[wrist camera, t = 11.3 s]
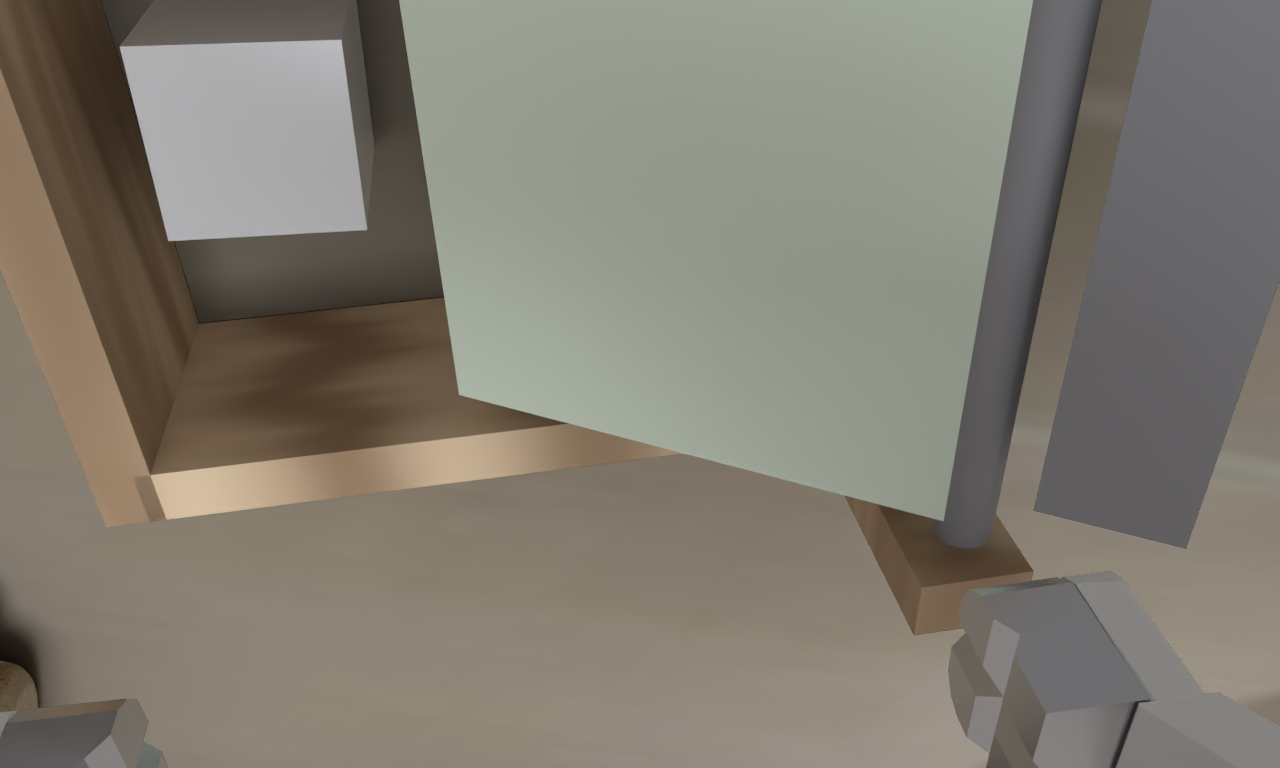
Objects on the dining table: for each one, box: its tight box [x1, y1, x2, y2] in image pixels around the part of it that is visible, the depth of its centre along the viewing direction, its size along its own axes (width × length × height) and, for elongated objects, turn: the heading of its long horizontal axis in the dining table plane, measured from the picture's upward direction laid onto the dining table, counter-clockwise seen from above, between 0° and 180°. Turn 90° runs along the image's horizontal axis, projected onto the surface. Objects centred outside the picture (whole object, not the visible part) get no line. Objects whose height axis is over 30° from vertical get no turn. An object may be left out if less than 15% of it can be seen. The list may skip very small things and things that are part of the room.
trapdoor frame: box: [0, 0, 1033, 635], centre depth 23 cm, size 23×18×14 cm
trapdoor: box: [399, 0, 1280, 549], centre depth 20 cm, size 16×14×3 cm
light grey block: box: [120, 0, 375, 241], centre depth 26 cm, size 4×4×5 cm
